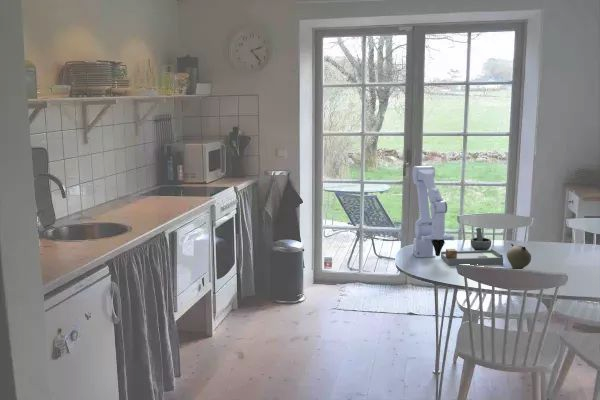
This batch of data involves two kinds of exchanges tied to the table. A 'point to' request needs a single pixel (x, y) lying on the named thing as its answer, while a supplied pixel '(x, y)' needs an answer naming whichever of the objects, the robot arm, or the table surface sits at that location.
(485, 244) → the mortar and pestle
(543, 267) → the table surface
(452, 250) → the block
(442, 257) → the trap lane
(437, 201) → the robot arm
